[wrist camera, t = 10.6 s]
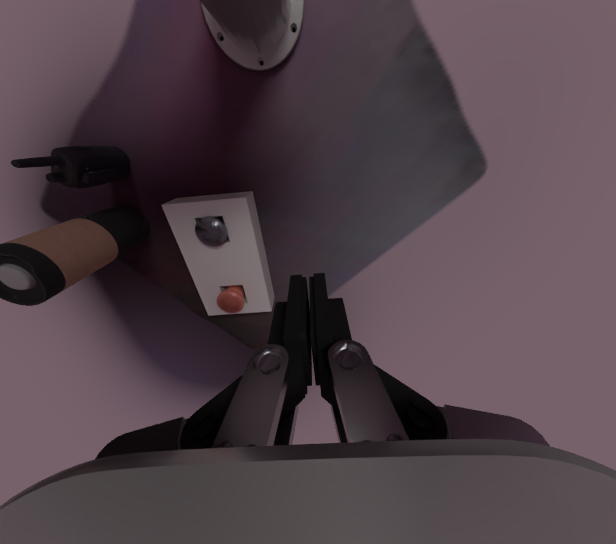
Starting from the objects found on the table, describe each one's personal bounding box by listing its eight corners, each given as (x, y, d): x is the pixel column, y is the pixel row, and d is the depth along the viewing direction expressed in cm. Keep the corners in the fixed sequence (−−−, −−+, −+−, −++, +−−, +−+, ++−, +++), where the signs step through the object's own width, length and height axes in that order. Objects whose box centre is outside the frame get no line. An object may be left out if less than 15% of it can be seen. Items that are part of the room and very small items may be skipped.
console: (177, 197, 39) (161, 204, 35) (252, 191, 39) (245, 197, 35) (216, 301, 52) (208, 315, 48) (274, 297, 51) (271, 311, 47)
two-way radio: (109, 140, 35) (-6, 140, 22) (139, 156, 36) (46, 164, 23) (106, 173, 37) (1, 190, 25) (134, 186, 38) (48, 209, 26)
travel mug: (116, 240, 44) (-6, 304, 27) (101, 202, 40) (-54, 248, 23) (155, 243, 44) (59, 308, 27) (144, 205, 40) (23, 253, 23)
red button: (221, 280, 45) (213, 293, 41) (245, 278, 45) (239, 291, 41) (227, 300, 48) (220, 313, 44) (251, 298, 48) (246, 312, 44)
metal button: (201, 211, 39) (190, 218, 35) (229, 208, 39) (221, 216, 35) (210, 237, 42) (200, 247, 38) (237, 235, 42) (229, 245, 38)
